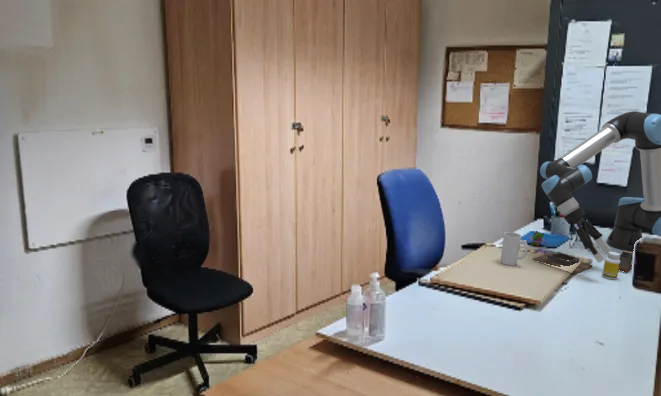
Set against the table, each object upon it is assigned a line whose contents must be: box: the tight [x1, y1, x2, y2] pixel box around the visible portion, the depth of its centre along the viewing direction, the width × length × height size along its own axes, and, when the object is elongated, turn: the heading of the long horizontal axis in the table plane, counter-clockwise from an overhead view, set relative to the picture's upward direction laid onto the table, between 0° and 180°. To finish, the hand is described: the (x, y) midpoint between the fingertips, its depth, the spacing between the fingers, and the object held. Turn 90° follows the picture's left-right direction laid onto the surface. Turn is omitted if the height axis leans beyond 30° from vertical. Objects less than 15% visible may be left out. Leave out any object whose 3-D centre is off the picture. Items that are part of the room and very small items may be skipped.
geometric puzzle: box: [528, 230, 547, 248], centre depth 254 cm, size 7×7×8 cm
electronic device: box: [618, 250, 633, 273], centre depth 232 cm, size 4×10×8 cm, turn 141°
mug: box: [500, 231, 529, 266], centre depth 227 cm, size 10×7×12 cm, turn 53°
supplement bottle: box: [601, 251, 621, 280], centre depth 221 cm, size 5×5×10 cm
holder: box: [532, 251, 594, 275], centre depth 233 cm, size 15×18×3 cm
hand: (605, 256), depth 221 cm, fingers open, 13 cm apart
